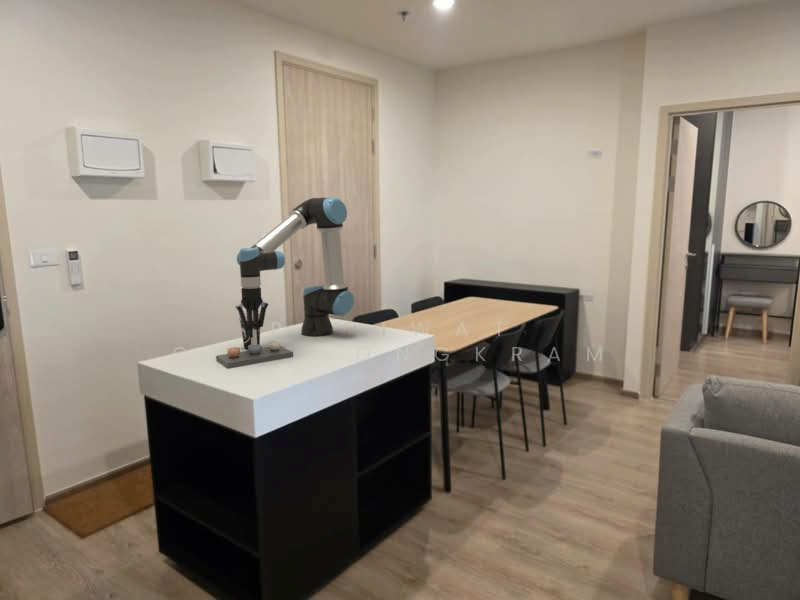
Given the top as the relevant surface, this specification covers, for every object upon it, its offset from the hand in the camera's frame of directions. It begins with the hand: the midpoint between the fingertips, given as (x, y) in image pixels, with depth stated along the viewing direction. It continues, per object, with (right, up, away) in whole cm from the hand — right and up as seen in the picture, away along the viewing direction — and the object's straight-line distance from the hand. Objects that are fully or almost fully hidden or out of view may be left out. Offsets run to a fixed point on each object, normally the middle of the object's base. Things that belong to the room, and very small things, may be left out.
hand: (254, 344), depth 219 cm
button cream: (+7, -4, +6) cm, 10 cm away
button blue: (0, -5, +1) cm, 5 cm away
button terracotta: (-7, -5, -4) cm, 10 cm away
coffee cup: (-6, -3, +19) cm, 20 cm away
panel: (0, -6, +1) cm, 6 cm away
